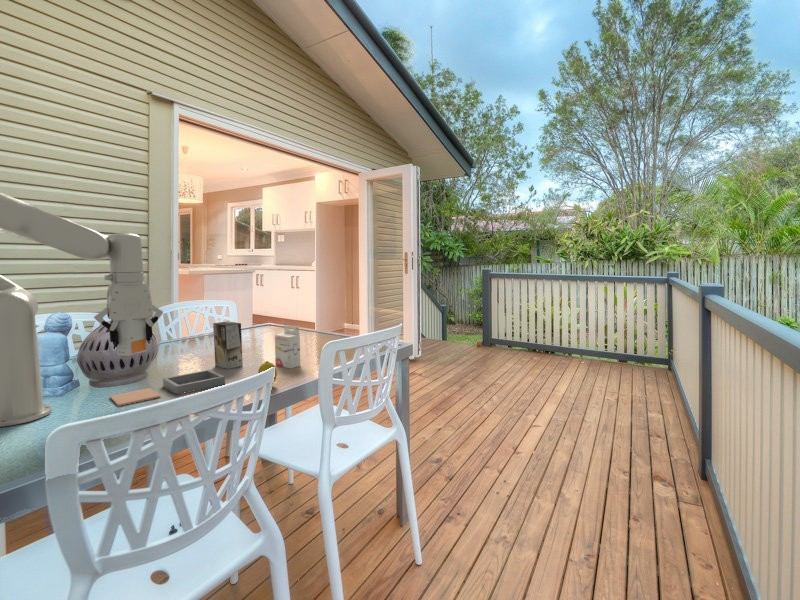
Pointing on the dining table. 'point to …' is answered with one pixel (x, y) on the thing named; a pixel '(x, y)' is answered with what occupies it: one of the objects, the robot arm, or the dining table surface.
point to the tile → (134, 396)
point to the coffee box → (228, 344)
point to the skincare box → (131, 336)
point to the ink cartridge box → (288, 348)
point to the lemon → (267, 366)
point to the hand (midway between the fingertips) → (132, 341)
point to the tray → (212, 381)
